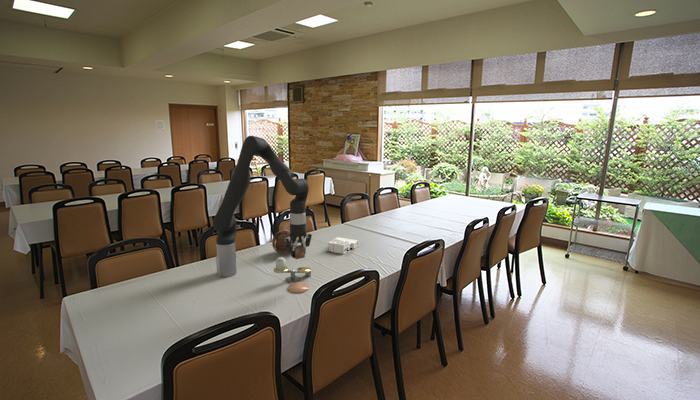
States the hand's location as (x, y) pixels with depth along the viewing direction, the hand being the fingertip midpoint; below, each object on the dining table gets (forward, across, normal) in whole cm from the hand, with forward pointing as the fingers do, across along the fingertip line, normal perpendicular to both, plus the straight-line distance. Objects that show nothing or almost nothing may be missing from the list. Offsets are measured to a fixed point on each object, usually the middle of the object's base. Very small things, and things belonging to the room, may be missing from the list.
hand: (298, 256), depth 164 cm
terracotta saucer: (+16, 0, 0) cm, 16 cm away
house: (+17, +52, +36) cm, 65 cm away
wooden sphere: (+17, +15, +46) cm, 51 cm away
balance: (+16, +2, +10) cm, 19 cm away
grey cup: (+9, -4, +10) cm, 14 cm away
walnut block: (0, 0, 0) cm, 0 cm away
